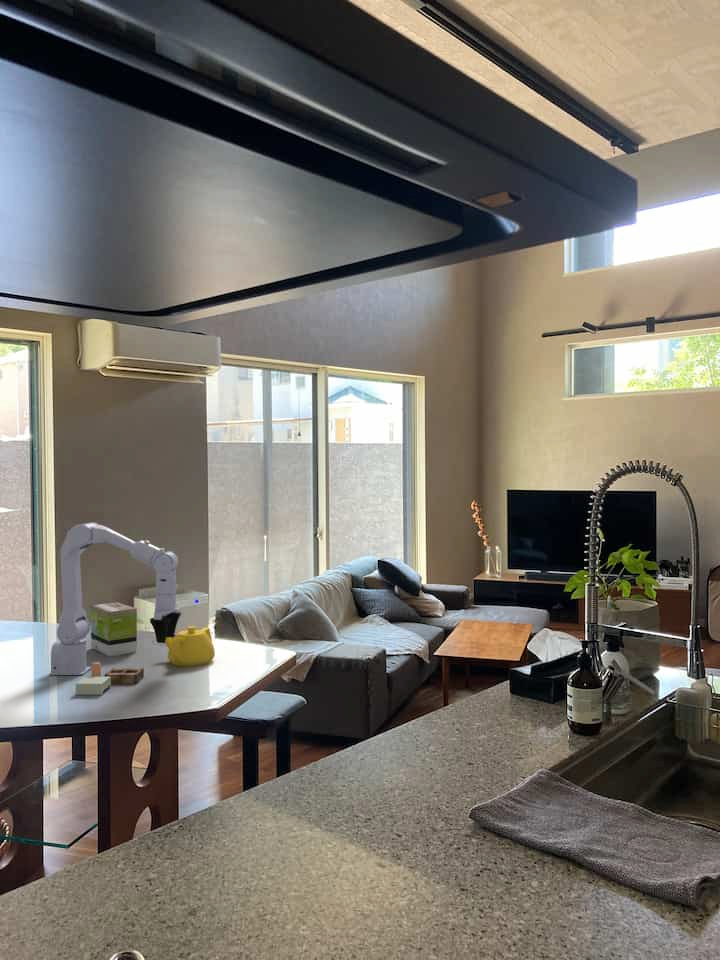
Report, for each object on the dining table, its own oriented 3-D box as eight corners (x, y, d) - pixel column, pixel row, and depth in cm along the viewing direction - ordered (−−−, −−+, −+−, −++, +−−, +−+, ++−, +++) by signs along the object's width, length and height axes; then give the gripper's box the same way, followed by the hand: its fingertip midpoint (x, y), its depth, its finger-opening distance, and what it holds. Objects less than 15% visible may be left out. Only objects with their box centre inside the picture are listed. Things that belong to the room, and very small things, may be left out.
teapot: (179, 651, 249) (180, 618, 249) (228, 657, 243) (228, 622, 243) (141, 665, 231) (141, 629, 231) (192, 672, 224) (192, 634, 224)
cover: (75, 694, 200) (75, 683, 200) (84, 687, 207) (85, 676, 207) (102, 694, 200) (102, 683, 200) (110, 687, 207) (110, 676, 207)
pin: (90, 685, 208) (90, 664, 208) (93, 683, 211) (93, 661, 211) (98, 685, 208) (99, 664, 208) (101, 683, 211) (101, 661, 211)
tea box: (89, 648, 253) (89, 604, 253) (118, 644, 259) (118, 601, 259) (108, 657, 242) (108, 610, 242) (137, 652, 248) (138, 607, 248)
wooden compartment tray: (104, 683, 211) (104, 674, 211) (112, 676, 218) (112, 668, 218) (136, 683, 211) (136, 674, 211) (143, 677, 218) (143, 668, 218)
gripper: (171, 597, 214) (170, 645, 214) (187, 590, 228) (186, 635, 228) (146, 597, 214) (146, 645, 214) (164, 589, 229) (163, 634, 229)
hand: (165, 639), depth 221 cm, fingers open, 7 cm apart
